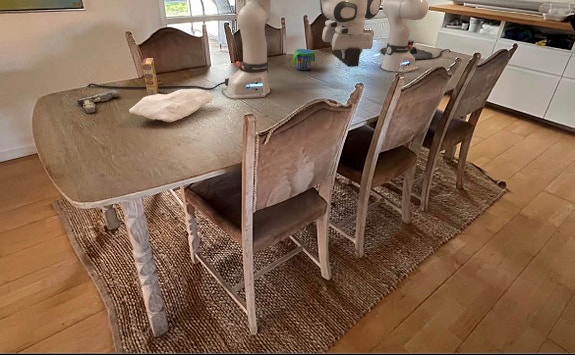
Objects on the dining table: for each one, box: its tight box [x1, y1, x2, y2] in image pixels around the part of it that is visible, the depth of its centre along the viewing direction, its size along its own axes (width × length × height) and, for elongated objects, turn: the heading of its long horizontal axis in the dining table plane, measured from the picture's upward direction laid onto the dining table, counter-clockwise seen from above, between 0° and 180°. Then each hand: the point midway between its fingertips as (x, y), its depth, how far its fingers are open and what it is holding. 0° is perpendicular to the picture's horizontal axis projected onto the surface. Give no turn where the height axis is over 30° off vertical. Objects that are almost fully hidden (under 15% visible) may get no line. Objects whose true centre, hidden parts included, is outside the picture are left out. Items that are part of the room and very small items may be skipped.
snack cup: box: [291, 48, 316, 71], centre depth 207 cm, size 16×10×10 cm
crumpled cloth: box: [129, 88, 214, 123], centre depth 147 cm, size 24×35×9 cm
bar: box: [331, 48, 361, 68], centre depth 187 cm, size 26×6×8 cm, turn 12°
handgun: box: [76, 89, 120, 114], centre depth 155 cm, size 3×18×15 cm
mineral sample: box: [380, 39, 433, 59], centre depth 249 cm, size 35×35×9 cm
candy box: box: [141, 57, 160, 96], centre depth 163 cm, size 9×4×15 cm, turn 13°
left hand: (350, 58), depth 181 cm, fingers closed on bar, 5 cm apart
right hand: (339, 50), depth 195 cm, fingers closed on bar, 5 cm apart
